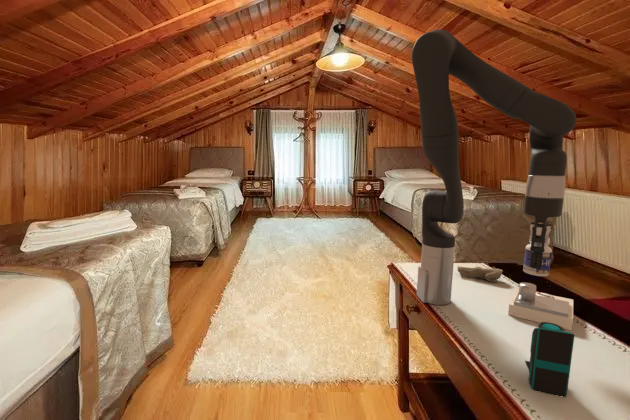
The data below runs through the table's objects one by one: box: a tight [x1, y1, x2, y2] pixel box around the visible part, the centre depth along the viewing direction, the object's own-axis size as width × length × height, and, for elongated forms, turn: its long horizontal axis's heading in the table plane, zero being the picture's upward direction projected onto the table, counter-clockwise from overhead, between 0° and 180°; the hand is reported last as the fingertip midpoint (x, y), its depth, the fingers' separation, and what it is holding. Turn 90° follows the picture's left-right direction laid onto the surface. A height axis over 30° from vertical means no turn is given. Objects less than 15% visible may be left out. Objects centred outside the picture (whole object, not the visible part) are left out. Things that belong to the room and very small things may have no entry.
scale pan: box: [514, 292, 569, 317], centre depth 92 cm, size 10×12×1 cm
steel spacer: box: [518, 281, 537, 301], centre depth 94 cm, size 4×4×4 cm
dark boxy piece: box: [524, 322, 576, 398], centre depth 64 cm, size 6×12×10 cm
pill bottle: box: [522, 237, 553, 277], centre depth 80 cm, size 5×5×9 cm
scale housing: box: [507, 287, 574, 331], centre depth 94 cm, size 16×14×4 cm
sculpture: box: [457, 265, 503, 283], centre depth 122 cm, size 7×5×15 cm
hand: (536, 264), depth 80 cm, fingers closed on pill bottle, 5 cm apart
